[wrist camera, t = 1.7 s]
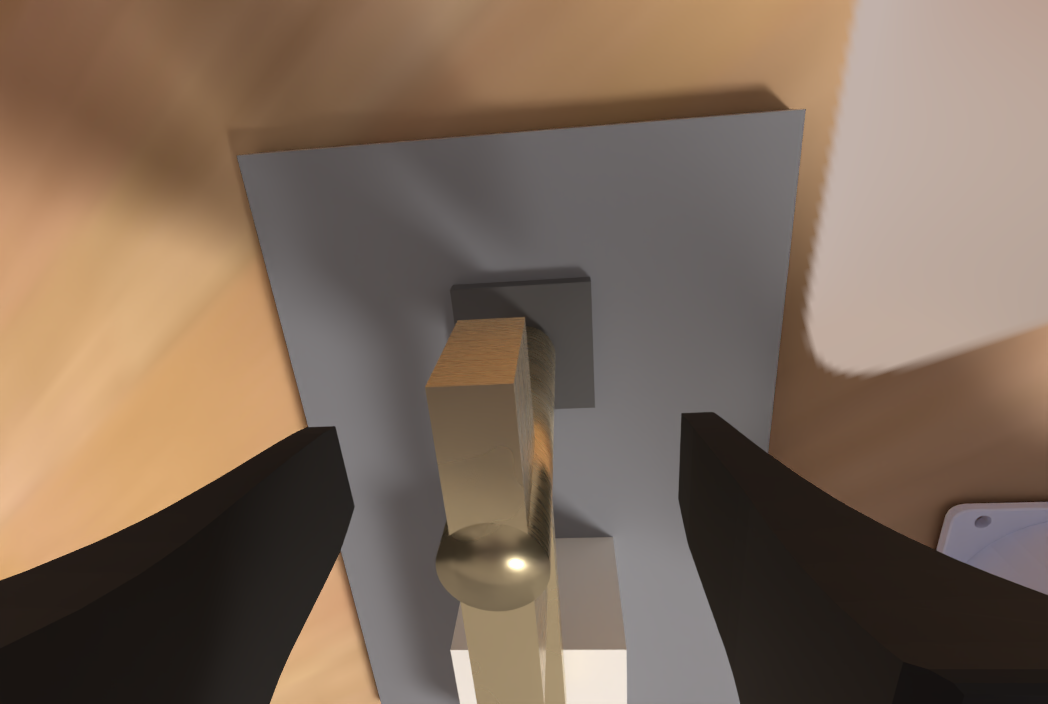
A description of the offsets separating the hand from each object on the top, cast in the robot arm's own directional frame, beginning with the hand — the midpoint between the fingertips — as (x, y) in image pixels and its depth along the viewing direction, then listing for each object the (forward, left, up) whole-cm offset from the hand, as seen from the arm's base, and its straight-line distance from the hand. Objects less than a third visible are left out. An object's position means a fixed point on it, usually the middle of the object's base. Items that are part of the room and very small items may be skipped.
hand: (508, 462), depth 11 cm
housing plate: (0, +6, -7) cm, 9 cm away
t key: (0, +3, -5) cm, 6 cm away
